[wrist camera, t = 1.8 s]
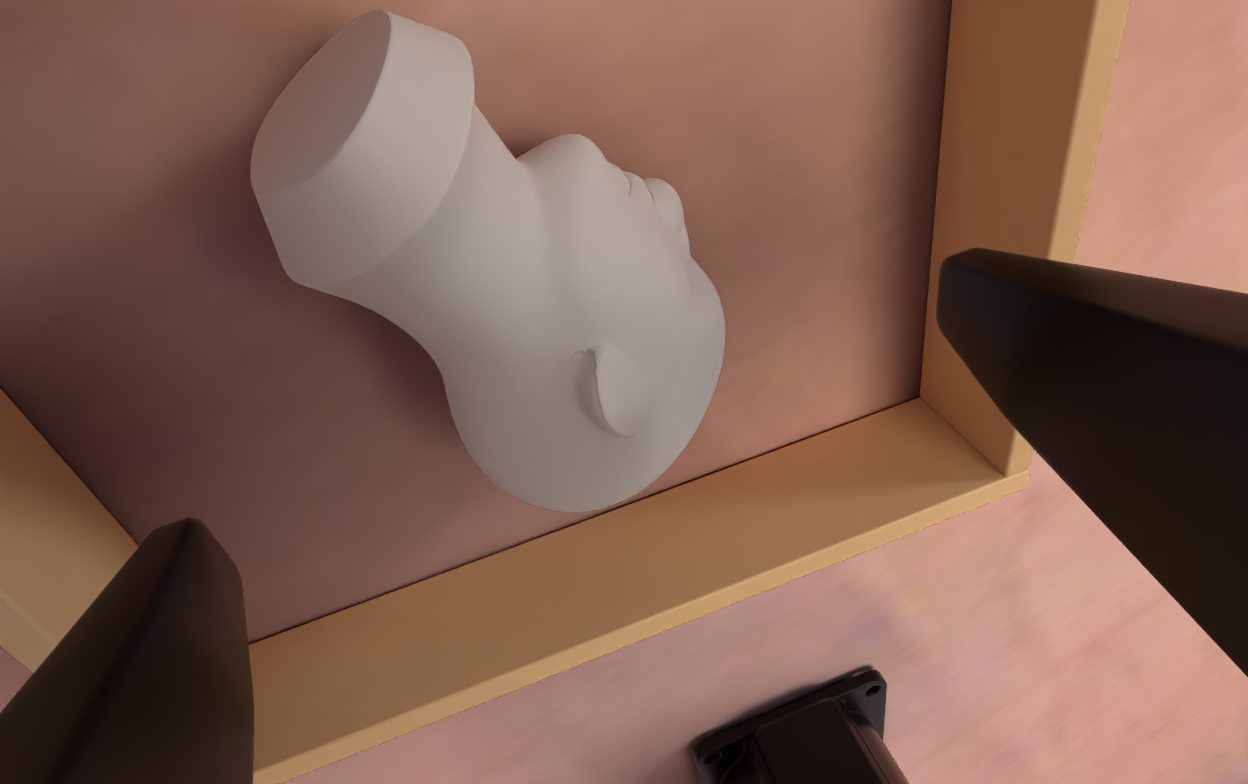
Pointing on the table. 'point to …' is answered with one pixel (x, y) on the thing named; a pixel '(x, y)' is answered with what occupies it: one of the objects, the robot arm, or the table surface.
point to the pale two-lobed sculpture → (495, 264)
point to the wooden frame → (677, 518)
